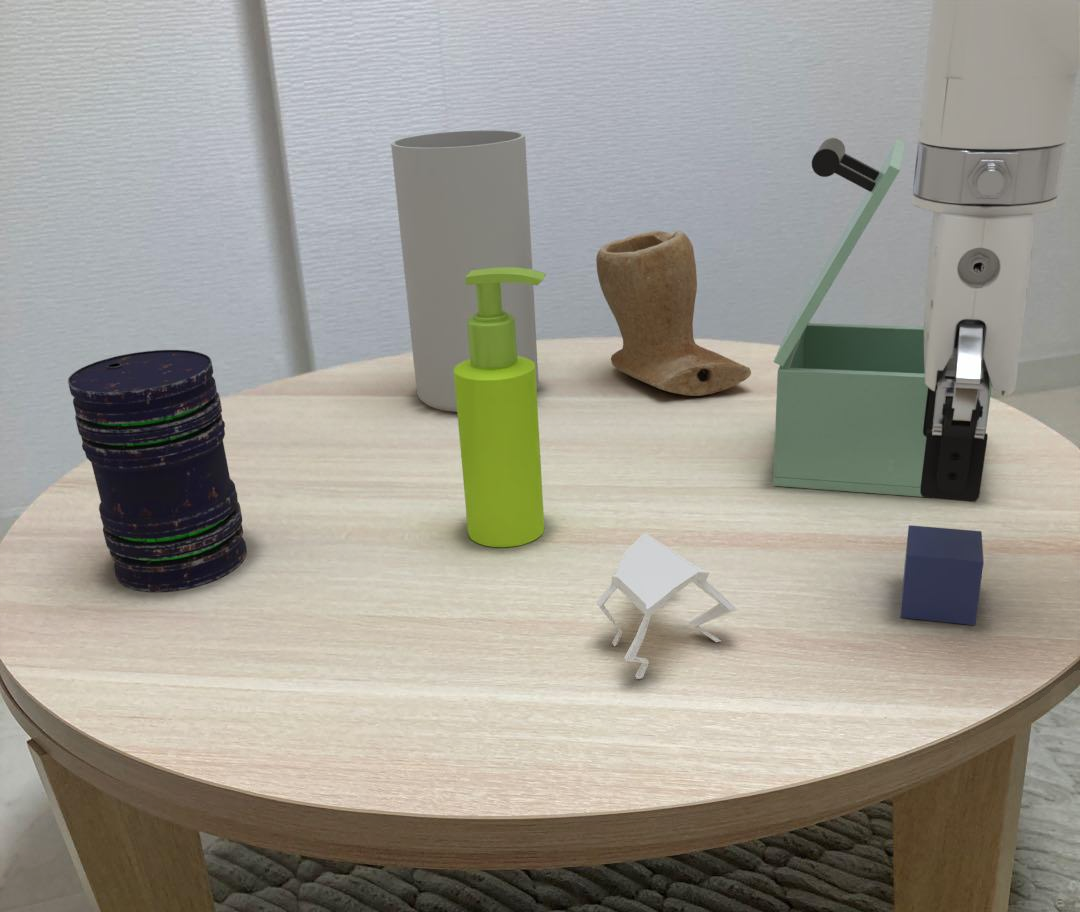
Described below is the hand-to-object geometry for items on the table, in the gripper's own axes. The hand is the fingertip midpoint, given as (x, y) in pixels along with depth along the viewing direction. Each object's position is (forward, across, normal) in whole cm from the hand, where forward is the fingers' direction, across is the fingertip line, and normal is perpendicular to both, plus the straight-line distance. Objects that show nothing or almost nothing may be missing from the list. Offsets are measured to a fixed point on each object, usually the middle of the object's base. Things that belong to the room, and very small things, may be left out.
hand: (948, 465), depth 70 cm
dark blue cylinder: (+11, -5, +54) cm, 55 cm away
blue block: (+10, 0, 0) cm, 10 cm away
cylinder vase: (+10, +35, +45) cm, 58 cm away
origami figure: (+10, -7, +16) cm, 21 cm away
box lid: (-8, +24, +8) cm, 27 cm away
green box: (+10, +24, +5) cm, 26 cm away
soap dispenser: (+10, +5, +30) cm, 33 cm away
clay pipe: (+10, +42, +27) cm, 51 cm away
